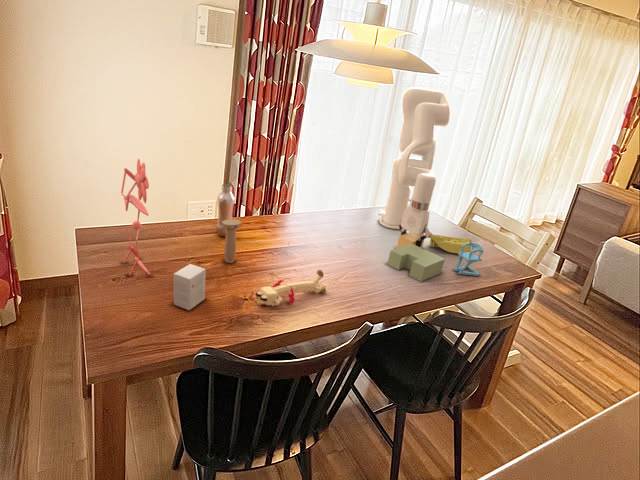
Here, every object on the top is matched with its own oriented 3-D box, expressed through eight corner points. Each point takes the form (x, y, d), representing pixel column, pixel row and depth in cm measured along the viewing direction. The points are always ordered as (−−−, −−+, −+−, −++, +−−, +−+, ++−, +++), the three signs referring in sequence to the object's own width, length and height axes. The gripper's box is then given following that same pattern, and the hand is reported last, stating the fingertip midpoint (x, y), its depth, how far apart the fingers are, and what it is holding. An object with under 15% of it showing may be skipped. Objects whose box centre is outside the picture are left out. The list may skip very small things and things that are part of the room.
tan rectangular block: (396, 248, 201) (399, 235, 198) (411, 243, 208) (414, 230, 205) (409, 255, 197) (413, 241, 194) (424, 249, 204) (428, 236, 201)
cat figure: (310, 286, 163) (247, 296, 148) (315, 263, 160) (251, 271, 144) (328, 300, 157) (264, 312, 141) (334, 276, 153) (269, 286, 137)
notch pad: (387, 264, 185) (390, 250, 183) (407, 256, 195) (411, 243, 192) (421, 281, 176) (425, 267, 174) (441, 272, 186) (445, 258, 183)
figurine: (131, 289, 143) (125, 175, 127) (116, 252, 162) (109, 149, 145) (182, 282, 151) (183, 174, 134) (162, 248, 170) (160, 149, 153)
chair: (450, 267, 191) (459, 240, 185) (467, 267, 194) (476, 240, 189) (462, 277, 185) (471, 249, 179) (479, 276, 188) (488, 248, 182)
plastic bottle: (236, 235, 189) (239, 186, 179) (224, 239, 184) (227, 189, 174) (224, 230, 192) (226, 181, 182) (212, 234, 186) (214, 184, 177)
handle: (240, 262, 169) (243, 223, 161) (224, 266, 165) (227, 226, 158) (233, 257, 172) (236, 218, 165) (217, 260, 168) (219, 220, 161)
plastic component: (460, 238, 215) (473, 238, 205) (458, 255, 215) (470, 255, 206) (420, 232, 210) (431, 231, 200) (418, 249, 210) (429, 249, 201)
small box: (189, 293, 146) (190, 263, 141) (205, 299, 144) (206, 268, 139) (173, 305, 139) (172, 273, 134) (189, 311, 138) (189, 279, 133)
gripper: (397, 198, 194) (387, 238, 203) (432, 213, 184) (421, 254, 193) (407, 196, 199) (398, 235, 208) (443, 210, 189) (431, 251, 198)
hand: (409, 244), depth 200 cm, fingers closed on tan rectangular block, 7 cm apart
